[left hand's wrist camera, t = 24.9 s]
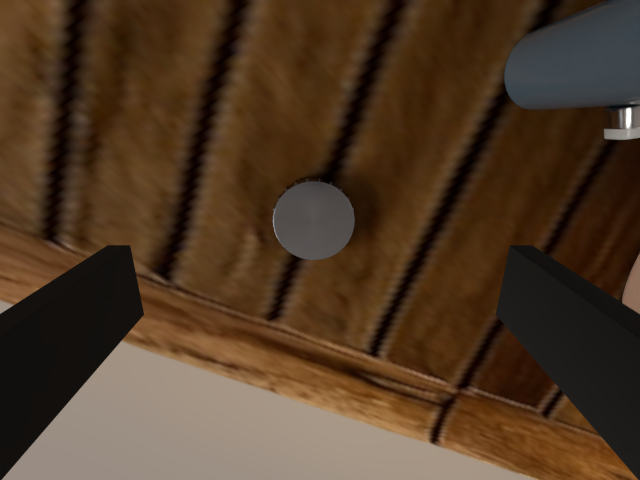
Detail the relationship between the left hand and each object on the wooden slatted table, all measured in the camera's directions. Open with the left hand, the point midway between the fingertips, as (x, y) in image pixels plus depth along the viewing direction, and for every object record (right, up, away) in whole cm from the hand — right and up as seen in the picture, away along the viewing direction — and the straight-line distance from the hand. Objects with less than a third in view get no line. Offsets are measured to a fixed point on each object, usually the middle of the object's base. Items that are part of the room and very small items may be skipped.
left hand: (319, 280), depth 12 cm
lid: (0, +3, +11) cm, 12 cm away
